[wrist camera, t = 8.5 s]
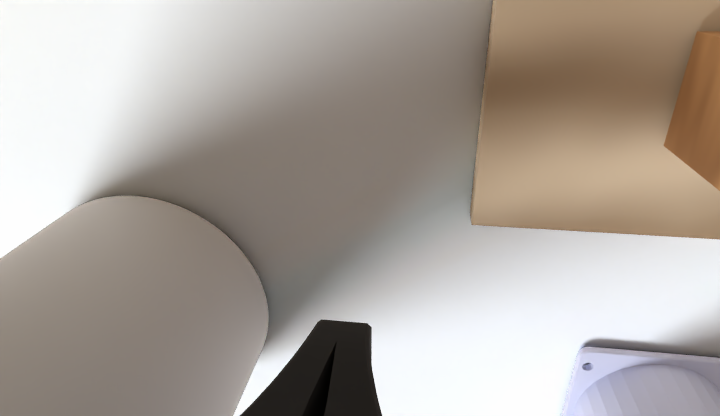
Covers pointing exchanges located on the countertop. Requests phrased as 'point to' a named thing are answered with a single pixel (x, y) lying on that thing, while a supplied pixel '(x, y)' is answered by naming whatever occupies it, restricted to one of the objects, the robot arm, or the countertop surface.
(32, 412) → the cylinder vase
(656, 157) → the base board
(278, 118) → the countertop surface
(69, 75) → the countertop surface
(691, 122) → the brown piece
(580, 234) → the countertop surface
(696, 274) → the countertop surface
